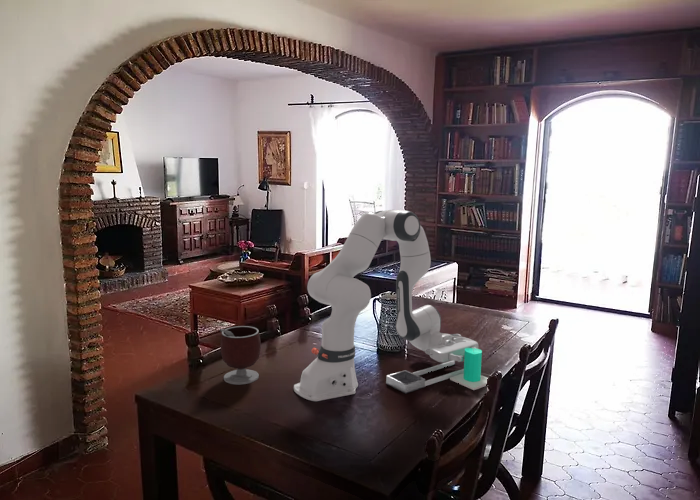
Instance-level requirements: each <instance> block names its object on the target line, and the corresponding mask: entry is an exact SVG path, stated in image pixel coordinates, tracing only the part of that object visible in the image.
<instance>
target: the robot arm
mask: <svg viewBox="0 0 700 500" xmlns="http://www.w3.org/2000/svg"><path fill="white" fill-rule="evenodd" d="M419 219H420V218H419V217H418V215H417V214H416V213H415V212H413V211H410V210H407V209H406V210H401V209H400V210H397V209H387V210H379V211H375V212H365V213H364V214H362V215H361V216H360V217H359V219H358V220H357V221H356V223H355V224H354V226H353V227H352V229H351V231H350V232H349V234H348V236H347V238H346V240H345V241H344V243H343V245H342V247H341V249H340V251H339V252H338V253H337V255H336V256H335V258H333V260H332V261H331V262H330V263H329V264H328V265H327V266H325V267H324V268H323V269H321V270H319V271H317V272H315V273H313V274H312V275H311V276H310V278H309V279H308V281H307V287H306V290H307V292H308V295H309V296H310V297H311V298H312V299H313V300H315V301H317V302H318V303H320V304H322V305H323V304H324V305H327V306H331V314H330V317H328V318H327V319H325V320H324V321H323V323H322V324H321V345H320V347H319V348H316V347H313V348H312V349H311V353H312V354H314V355H315V356H317V357H316V358H315V359H314V360H312V362H311V363H309V365H308V366H307V367H306V368H304V369H303V370H302V373H301V376H300V380H299V381H300V382H298V383H295V384H293V391H294V392H295V394H297V395H298V396H299V397H301V398H303V399H306V400H308V401H311V402H321V401H325V400H330V399H331V400H332V399H336V398H340V397H345V396H350V395H355V394H356V390H357V388H358V386H359V383H358V379H357V374H356V368H355V367H356V366H355V357H356V345H355V328H356V327H355V325H356V322H357V319H358V317H359V315H360V313H361V312H362V311H364V310H365V309H366V308H367V307H368V305H369V304H370V301H371V298H372V292H371V289H370V286H369V285H368V284H367V283H365V282H363V280H359V279H358V278H356V277H355V276H357V275H358V274H360V273H362V272H364V271H366V270H367V269H368V268H369V267H370V265H371V263H372V260H373V259H374V257H375V255H376V252H377V251H378V248H379V246H380V244H381V242H382V240H387V241H391V242H392V241H393V242H395V241H396V242H397V243H398V248H399V256H400V266H399V271H398V273H397V275H396V280H395V281H396V282H395V283H396V284H395V294H396V295H395V296H396V298H395V299H396V319H395V330H396V334H397V335H398V336H399V337H400V338H402V339H404V340H406V341H408V342H409V343H410V344H411V345H412V346H413V347H415V348H416V349H418V350H420V351H423V352H424V353H425V354H426V355H429V357H430V358H431V360H434V361H435V362H438V363H446V362H449V361H455V362H458V363H460V362H464V355H465V348H473V346H474V348H476V349H479V343H478V341H476V340H474V339H471V338H468V337H465V336H462V335H461V334H460V333H443V332H440V331H441V329H442V328H441V327H442V326H441V325H442V324H441V323H442V318H441V317H442V316H441V313H440V312H439V310H438V309H437V308H436V307H435V306H433V305H432V304H425V305H423V306H420V307H418V308H416V309H413V297H412V296H413V289H414V287H415V286H416V284H417V283H418V282H419V281H420V280H421V279H422V278H423V277H424V276H425V275H427V273H428V272H429V269H430V268H431V262H432V259H431V252H430V246H429V242H428V239H427V235H426V232H425V230H424V228H423V226H422V225H421V223H420V220H419ZM354 277H355V278H354Z"/></svg>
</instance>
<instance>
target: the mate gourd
mask: <svg viewBox="0 0 700 500" xmlns="http://www.w3.org/2000/svg"><path fill="white" fill-rule="evenodd" d="M219 332H221V337H220V353H221V358H222V360H223V362H224V363H225V365H227V367H229V368H232V369H234V370H231V371H229V372H227V373H225V374H224V375H223V380H224V382H225V383H228V384H230V385H239V386H240V385H246V384H247V385H248V384H252V383H254V382H256V381H257V380H259V373H258V371H256V370H252V369H247V368H249V367H253V366H254V365H255V364H256V362H257V361H258V360H259V359H260V355H261V354H260V353H261V347H262V346H261V343H262V342H261V335H260V331H259V328H257V327H255V326H248V325H238V326H232V327H228V328H225V329H224V328H223V329H222V328H220V329H219Z"/></svg>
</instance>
